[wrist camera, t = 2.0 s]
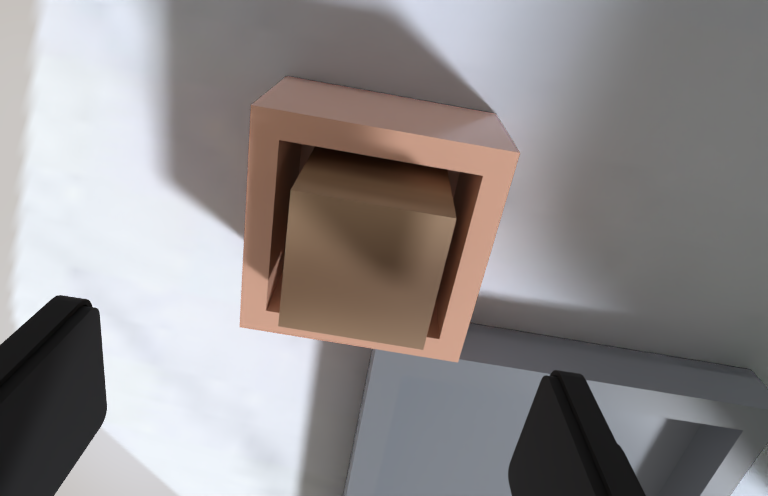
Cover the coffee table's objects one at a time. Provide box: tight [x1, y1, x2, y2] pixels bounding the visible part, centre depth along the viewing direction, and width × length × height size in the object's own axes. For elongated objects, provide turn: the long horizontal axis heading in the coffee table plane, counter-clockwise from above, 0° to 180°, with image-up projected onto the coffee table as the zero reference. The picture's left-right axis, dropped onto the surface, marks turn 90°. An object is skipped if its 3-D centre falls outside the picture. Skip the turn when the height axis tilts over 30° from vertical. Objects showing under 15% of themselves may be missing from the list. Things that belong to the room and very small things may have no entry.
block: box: [278, 146, 457, 350], centre depth 17 cm, size 4×4×6 cm
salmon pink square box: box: [240, 76, 520, 362], centre depth 18 cm, size 7×7×4 cm
